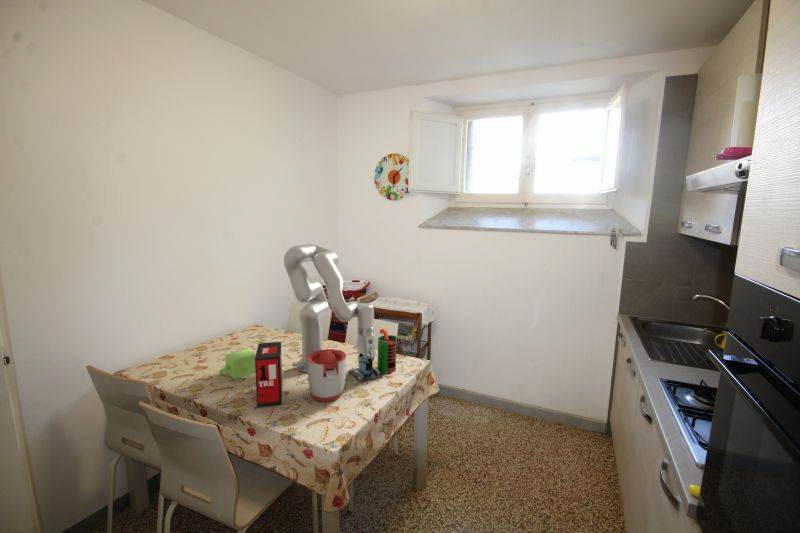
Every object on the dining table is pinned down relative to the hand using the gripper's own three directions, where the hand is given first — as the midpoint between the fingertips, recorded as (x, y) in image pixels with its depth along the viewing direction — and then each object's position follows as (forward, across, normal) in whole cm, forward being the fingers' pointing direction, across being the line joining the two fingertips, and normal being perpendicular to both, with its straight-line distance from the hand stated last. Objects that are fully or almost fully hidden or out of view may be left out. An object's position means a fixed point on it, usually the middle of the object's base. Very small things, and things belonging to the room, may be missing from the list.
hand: (365, 366), depth 168 cm
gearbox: (+4, +30, +50) cm, 58 cm away
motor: (+4, 0, -12) cm, 12 cm away
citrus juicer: (+4, -10, +22) cm, 25 cm away
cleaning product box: (+4, +2, +42) cm, 43 cm away
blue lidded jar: (+3, 0, 0) cm, 3 cm away
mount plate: (+4, 0, 0) cm, 4 cm away
